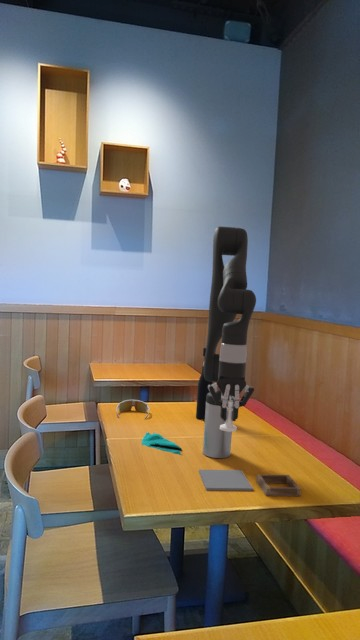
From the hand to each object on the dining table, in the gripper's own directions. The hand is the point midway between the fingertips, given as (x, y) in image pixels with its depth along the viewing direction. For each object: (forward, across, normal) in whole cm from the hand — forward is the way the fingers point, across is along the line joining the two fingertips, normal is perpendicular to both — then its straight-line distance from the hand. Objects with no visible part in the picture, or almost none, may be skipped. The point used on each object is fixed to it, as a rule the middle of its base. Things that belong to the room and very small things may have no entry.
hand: (228, 420), depth 131 cm
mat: (+18, 0, 0) cm, 18 cm away
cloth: (+18, +16, -32) cm, 40 cm away
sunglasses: (+18, +25, -69) cm, 75 cm away
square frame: (+18, -14, +5) cm, 23 cm away
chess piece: (+3, 0, 0) cm, 3 cm away
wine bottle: (+18, -5, -66) cm, 68 cm away
